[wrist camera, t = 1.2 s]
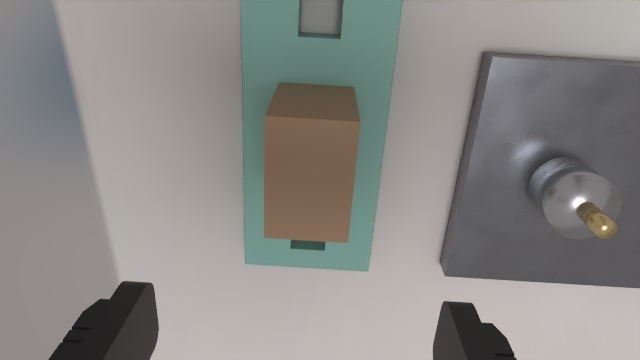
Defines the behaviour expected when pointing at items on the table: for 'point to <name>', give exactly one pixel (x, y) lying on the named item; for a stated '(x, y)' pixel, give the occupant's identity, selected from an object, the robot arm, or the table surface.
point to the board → (324, 66)
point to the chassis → (549, 174)
